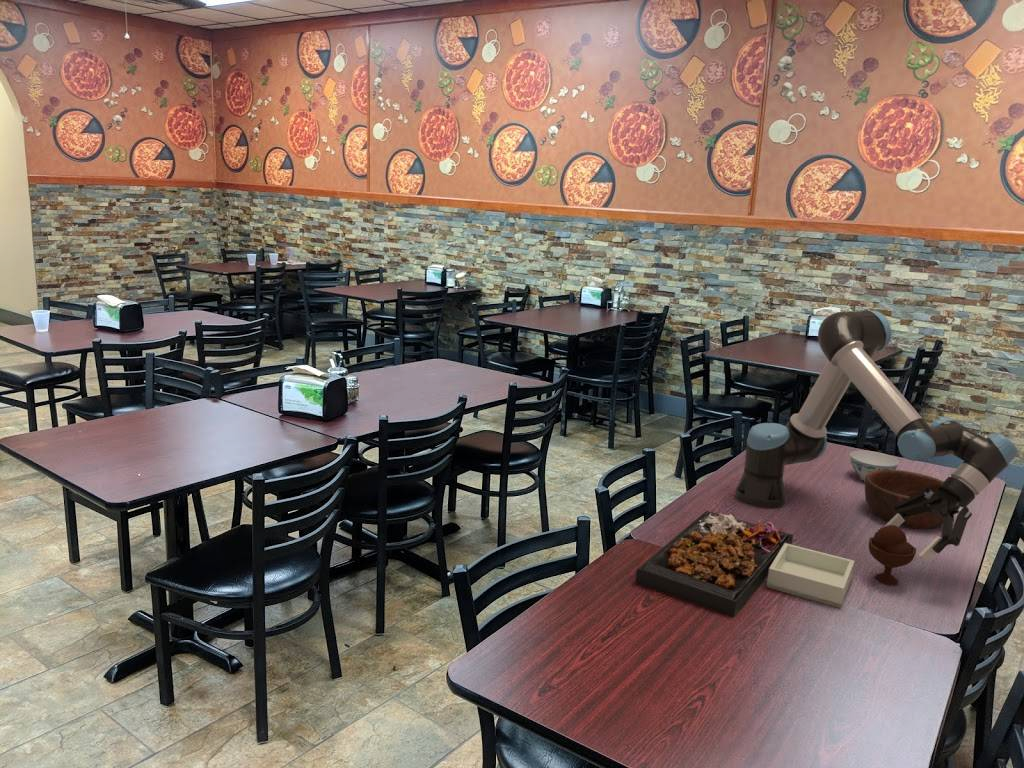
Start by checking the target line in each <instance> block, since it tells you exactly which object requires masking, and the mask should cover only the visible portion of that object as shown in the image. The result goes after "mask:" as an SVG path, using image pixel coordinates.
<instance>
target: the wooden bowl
mask: <svg viewBox="0 0 1024 768" xmlns="http://www.w3.org/2000/svg"><path fill="white" fill-rule="evenodd" d="M943 482H944V481H943V480H940V479H938V478H935V477H933V476H930V475H926V474H923V473H917V472H914V471H909V470H899V469H896V470H877V471H873V472H870V473H868V474H867V475H866V477H865V481H864V495H865V496H864V497H865V501H866V502H865V503H866V505H867V507H868V509H869V511H870V512H871V513H872V514H873V515H874V516H875V517H877V518H879V519H881V520H882V521H885V522H887V523H888V520H889V519H890V518H891V517H892V516H893V515H894V514H895V513H896V511H895V509H894V508H893V505H895V504H897V503H899V502H901V501H903V500H905V499H907V498H909V497H911V496H913V495H915V494H918V493H920V492H921V491H922V490H923V489H924V488H926V487H928V488H929V489H930V490H931V491H932V492H933V493H935V492H937V491H938V490H939V487H940V485H941V484H942V483H943ZM928 505H929V506H930V504H928ZM899 508H900V507H899ZM903 513H904V512H903ZM904 520H905V521H904V522H903V523H902V524H901V525H900V526H899V527H905V528H911V529H918V530H919V529H922V530H928V529H934V528H938V527H940V526H942V523H943V517H941V516H940V515H939V514H935V513H934V512H924V513H920V514H917V515H913V516H909V517H906V518H904Z"/></svg>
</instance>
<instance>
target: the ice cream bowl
mask: <svg viewBox="0 0 1024 768" xmlns="http://www.w3.org/2000/svg"><path fill="white" fill-rule="evenodd" d="M884 526H885V525H884ZM884 526H882V527H881V528H880V529H878V530H876V531H875V533H874V534H873V537H869V540H868V550H869V553H870V555H871V557H872V558H873V559H875V560H876V561H877V562H878V563H880V565H881V566H884V567H883V568H884V571H883V572H881V573H877V574H875V576H874V580H875V581H876V582H877V583H879V584H882V585H885V586H891V587H893V586H897V585H898V584H899V581H898V578H896V577H895V576H894V575H892V571H893V569H896V568H900V567H904V566H906V565H908V564H911V563H912V562H913V560H915V559H914V558H915V556H916V554H917V547H915V546H913V545H912V544H911V543H910V542H908V538H907V535H906V533H905V532H904V531H903V530H902V528H901V527H897V526H895V525H887V526H885V527H884Z"/></svg>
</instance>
